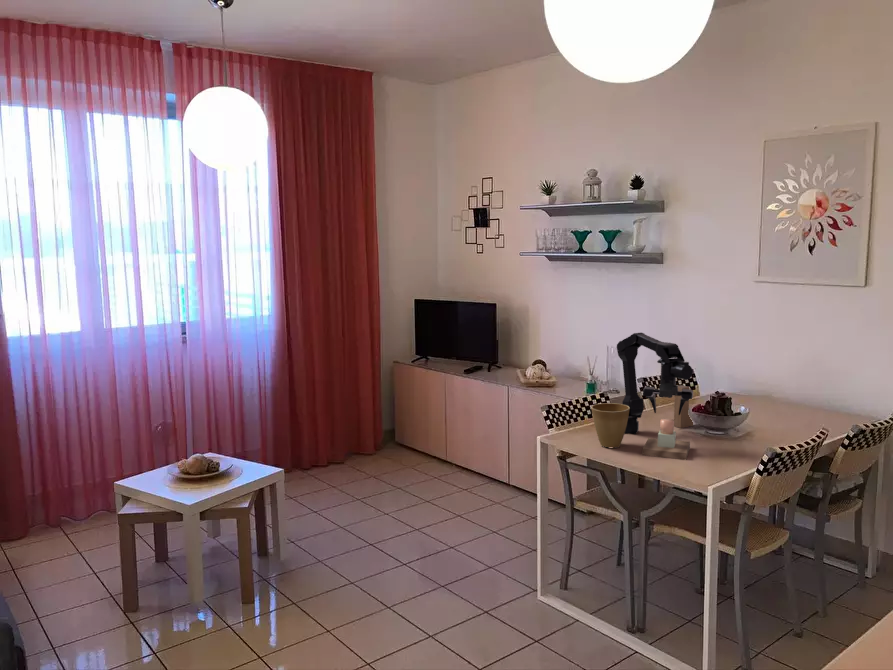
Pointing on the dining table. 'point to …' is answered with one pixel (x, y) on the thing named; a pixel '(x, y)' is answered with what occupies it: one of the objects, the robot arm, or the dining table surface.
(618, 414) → the plant pot
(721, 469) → the dining table surface
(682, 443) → the walnut base
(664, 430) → the salmon pink cube
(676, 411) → the wooden block
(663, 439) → the sage cube
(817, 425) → the dining table surface
